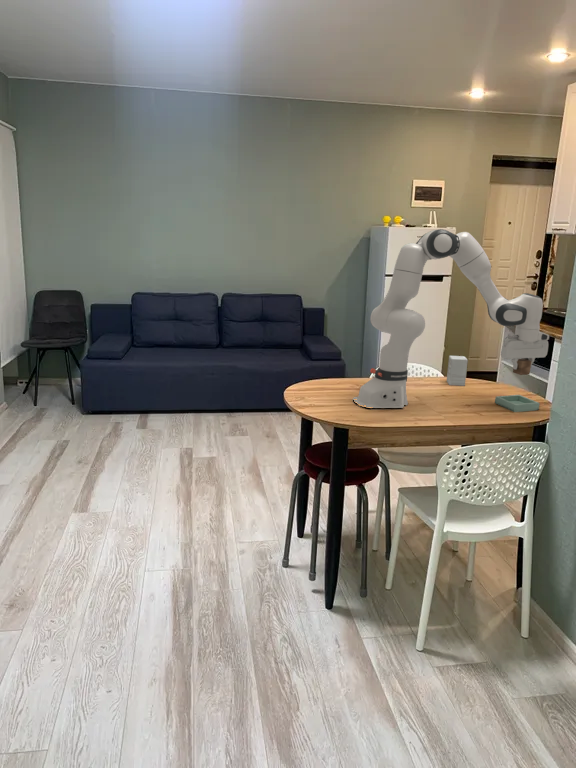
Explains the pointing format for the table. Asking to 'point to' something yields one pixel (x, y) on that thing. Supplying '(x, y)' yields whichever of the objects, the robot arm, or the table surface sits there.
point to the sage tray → (517, 403)
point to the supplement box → (457, 370)
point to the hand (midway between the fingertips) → (521, 368)
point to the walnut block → (523, 367)
